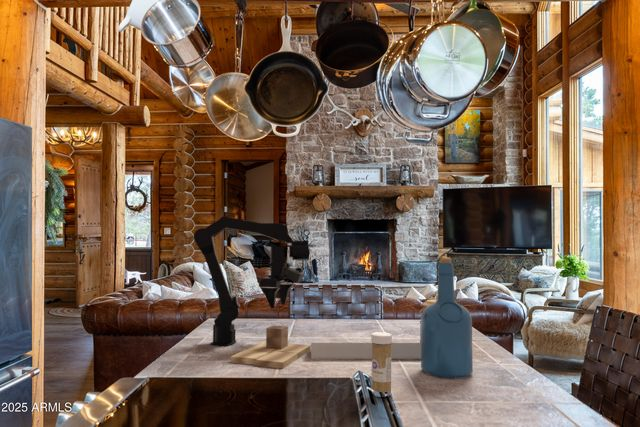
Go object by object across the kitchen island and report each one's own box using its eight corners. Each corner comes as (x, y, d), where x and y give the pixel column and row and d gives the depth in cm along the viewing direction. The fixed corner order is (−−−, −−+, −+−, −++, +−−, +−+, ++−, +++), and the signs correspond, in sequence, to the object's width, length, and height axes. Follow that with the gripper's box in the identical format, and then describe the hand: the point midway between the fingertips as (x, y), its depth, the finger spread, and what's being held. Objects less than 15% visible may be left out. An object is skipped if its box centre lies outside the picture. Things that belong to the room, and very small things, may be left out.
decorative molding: (310, 361, 141) (311, 360, 132) (310, 344, 143) (311, 342, 133) (420, 361, 142) (428, 360, 133) (419, 345, 144) (427, 343, 134)
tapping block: (266, 348, 138) (266, 328, 139) (273, 344, 143) (273, 325, 144) (281, 349, 137) (281, 329, 137) (287, 345, 142) (287, 326, 142)
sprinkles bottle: (367, 395, 101) (367, 333, 102) (378, 390, 105) (378, 330, 105) (384, 400, 98) (384, 336, 99) (395, 394, 102) (395, 333, 102)
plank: (230, 362, 128) (230, 356, 128) (261, 347, 147) (261, 342, 147) (256, 364, 126) (256, 358, 126) (284, 348, 145) (284, 343, 145)
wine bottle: (416, 365, 126) (416, 256, 128) (465, 366, 126) (463, 257, 128) (426, 380, 113) (425, 258, 115) (480, 381, 112) (479, 258, 114)
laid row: (255, 365, 125) (256, 359, 125) (286, 348, 145) (286, 343, 146) (283, 368, 122) (283, 362, 122) (310, 350, 143) (310, 345, 143)
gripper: (290, 261, 144) (289, 311, 143) (310, 259, 162) (309, 304, 161) (258, 260, 148) (257, 309, 147) (281, 259, 166) (280, 302, 165)
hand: (278, 306), depth 155 cm, fingers open, 9 cm apart
